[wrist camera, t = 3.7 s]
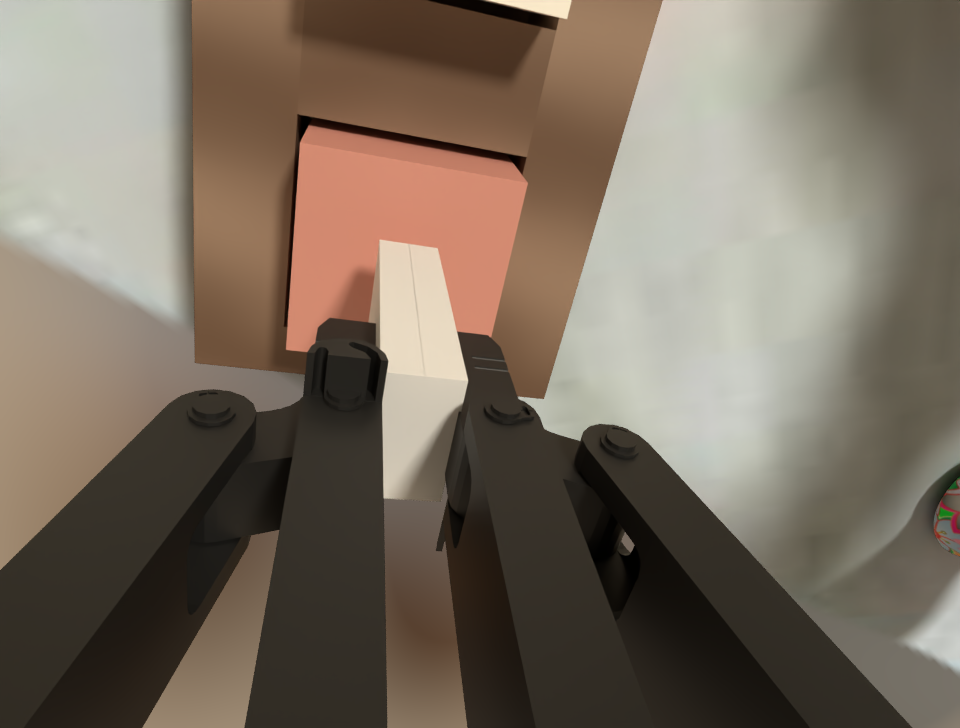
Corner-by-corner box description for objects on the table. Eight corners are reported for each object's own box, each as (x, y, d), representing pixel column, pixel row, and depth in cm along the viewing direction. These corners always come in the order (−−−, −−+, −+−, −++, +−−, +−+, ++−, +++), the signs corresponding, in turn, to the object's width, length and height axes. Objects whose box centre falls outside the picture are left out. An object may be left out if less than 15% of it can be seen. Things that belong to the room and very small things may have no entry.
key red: (314, 115, 20) (300, 142, 16) (504, 150, 21) (527, 183, 17) (300, 294, 22) (285, 349, 19) (468, 316, 24) (482, 371, 20)
